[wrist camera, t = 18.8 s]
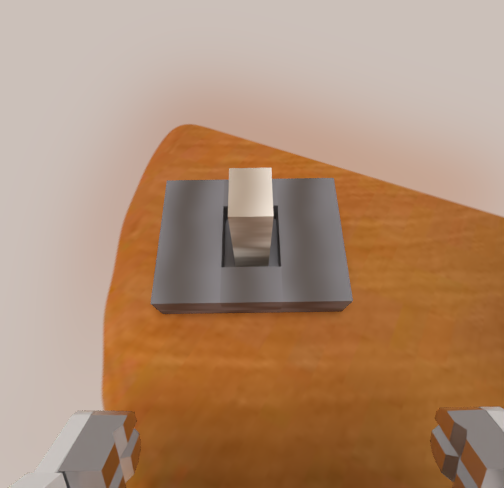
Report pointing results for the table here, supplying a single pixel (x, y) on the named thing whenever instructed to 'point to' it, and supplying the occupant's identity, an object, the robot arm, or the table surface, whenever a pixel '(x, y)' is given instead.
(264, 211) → the peg
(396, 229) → the table surface
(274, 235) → the slot holder
